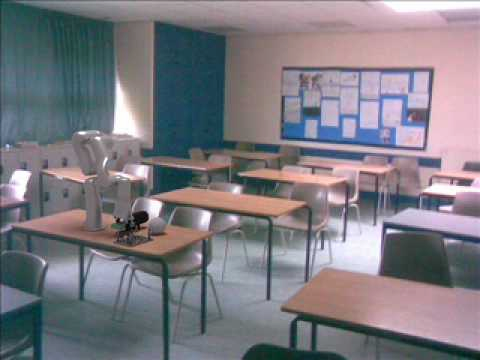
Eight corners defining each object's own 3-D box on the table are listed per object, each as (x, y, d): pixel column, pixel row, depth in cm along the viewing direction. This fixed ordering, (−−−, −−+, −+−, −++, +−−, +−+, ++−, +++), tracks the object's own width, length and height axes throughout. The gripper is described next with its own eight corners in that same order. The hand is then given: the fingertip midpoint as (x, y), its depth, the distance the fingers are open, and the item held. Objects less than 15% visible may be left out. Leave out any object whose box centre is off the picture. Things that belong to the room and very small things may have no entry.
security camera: (122, 232, 321) (122, 215, 320) (140, 225, 338) (140, 210, 336) (132, 233, 318) (132, 217, 317) (149, 226, 335) (149, 211, 334)
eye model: (169, 233, 321) (169, 216, 320) (159, 236, 312) (159, 220, 311) (155, 230, 326) (155, 214, 324) (145, 234, 317) (145, 217, 316)
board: (119, 230, 306) (119, 224, 305) (111, 228, 310) (111, 221, 309) (134, 226, 316) (134, 220, 315) (125, 224, 320) (126, 218, 319)
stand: (120, 238, 308) (120, 233, 307) (115, 237, 310) (115, 232, 309) (133, 234, 316) (133, 229, 316) (128, 233, 318) (128, 228, 318)
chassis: (130, 247, 290) (130, 234, 289) (113, 243, 297) (113, 230, 296) (153, 240, 305) (153, 228, 304) (136, 236, 312) (136, 224, 311)
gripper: (107, 197, 311) (107, 227, 314) (130, 202, 302) (129, 233, 305) (117, 195, 317) (116, 224, 321) (139, 200, 308) (138, 230, 312)
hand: (122, 228), depth 313 cm, fingers closed on board, 7 cm apart
